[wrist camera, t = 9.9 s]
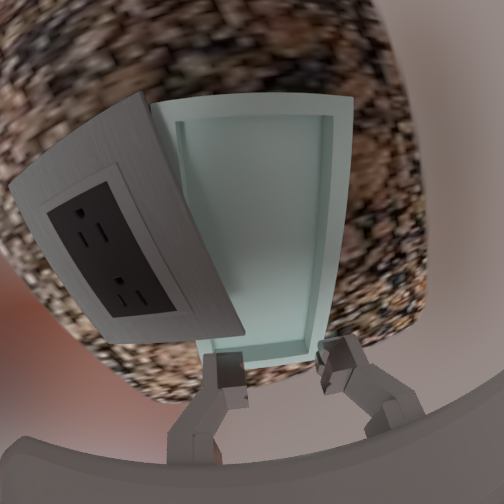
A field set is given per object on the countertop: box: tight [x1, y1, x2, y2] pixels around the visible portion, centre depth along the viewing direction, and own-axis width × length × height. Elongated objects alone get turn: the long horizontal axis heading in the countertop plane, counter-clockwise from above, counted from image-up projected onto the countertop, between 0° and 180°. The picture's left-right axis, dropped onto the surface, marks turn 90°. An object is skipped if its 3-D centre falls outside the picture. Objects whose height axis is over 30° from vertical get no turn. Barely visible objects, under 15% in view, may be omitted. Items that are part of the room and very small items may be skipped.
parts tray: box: [150, 92, 354, 369], centre depth 16 cm, size 18×9×2 cm, turn 2°
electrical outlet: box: [8, 91, 246, 344], centre depth 14 cm, size 13×10×2 cm
